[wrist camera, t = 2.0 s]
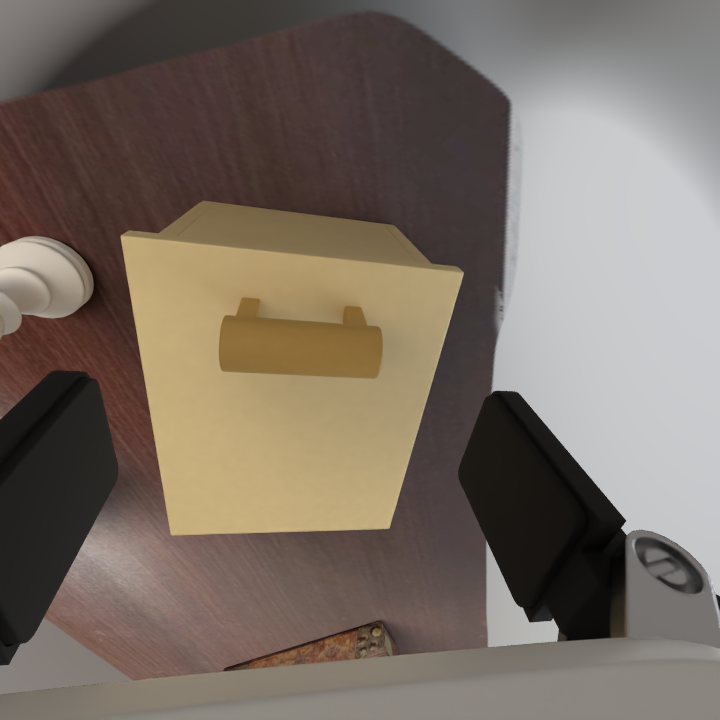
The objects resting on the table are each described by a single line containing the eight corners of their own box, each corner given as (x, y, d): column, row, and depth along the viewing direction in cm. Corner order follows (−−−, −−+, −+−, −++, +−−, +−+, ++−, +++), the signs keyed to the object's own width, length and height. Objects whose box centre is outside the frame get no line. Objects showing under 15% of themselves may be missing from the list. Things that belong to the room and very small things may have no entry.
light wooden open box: (202, 200, 24) (132, 251, 14) (394, 224, 26) (452, 283, 16) (214, 398, 32) (174, 522, 22) (361, 403, 34) (386, 517, 24)
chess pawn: (11, 299, 25) (-113, 371, 18) (1, 224, 23) (-145, 271, 15) (95, 316, 27) (14, 390, 19) (94, 247, 24) (1, 301, 17)
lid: (128, 229, 13) (54, 273, 9) (457, 266, 16) (512, 313, 12) (174, 523, 22) (145, 613, 18) (386, 517, 24) (404, 597, 20)
